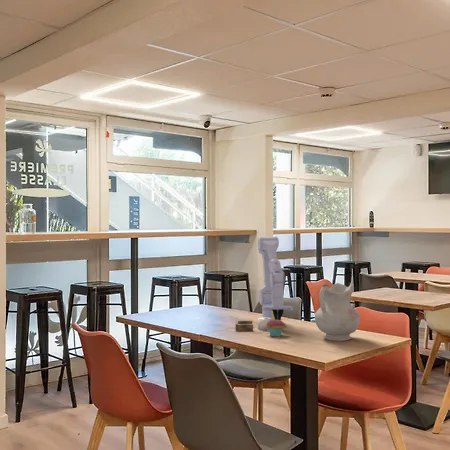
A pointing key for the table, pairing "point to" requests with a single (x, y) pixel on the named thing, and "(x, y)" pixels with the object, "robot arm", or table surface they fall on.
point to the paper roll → (263, 323)
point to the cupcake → (275, 326)
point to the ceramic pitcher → (337, 312)
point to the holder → (244, 326)
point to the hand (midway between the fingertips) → (277, 325)
